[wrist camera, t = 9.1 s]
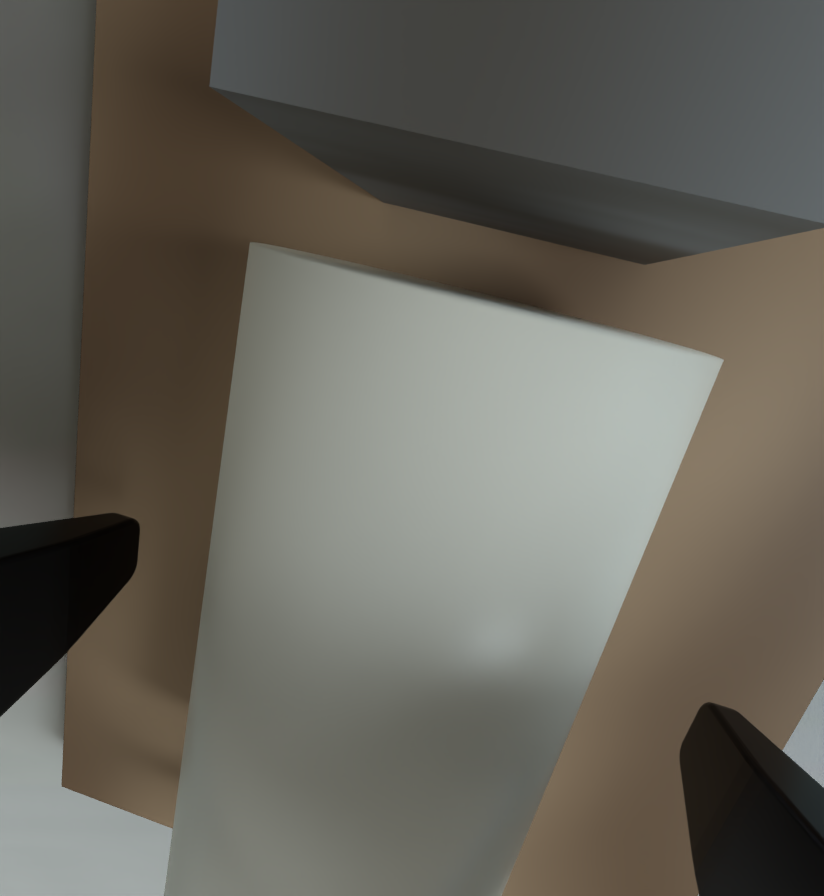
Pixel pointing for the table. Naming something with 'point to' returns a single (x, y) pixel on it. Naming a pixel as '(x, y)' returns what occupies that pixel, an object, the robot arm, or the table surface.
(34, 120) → the table surface
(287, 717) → the cylinder
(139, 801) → the roll holder
